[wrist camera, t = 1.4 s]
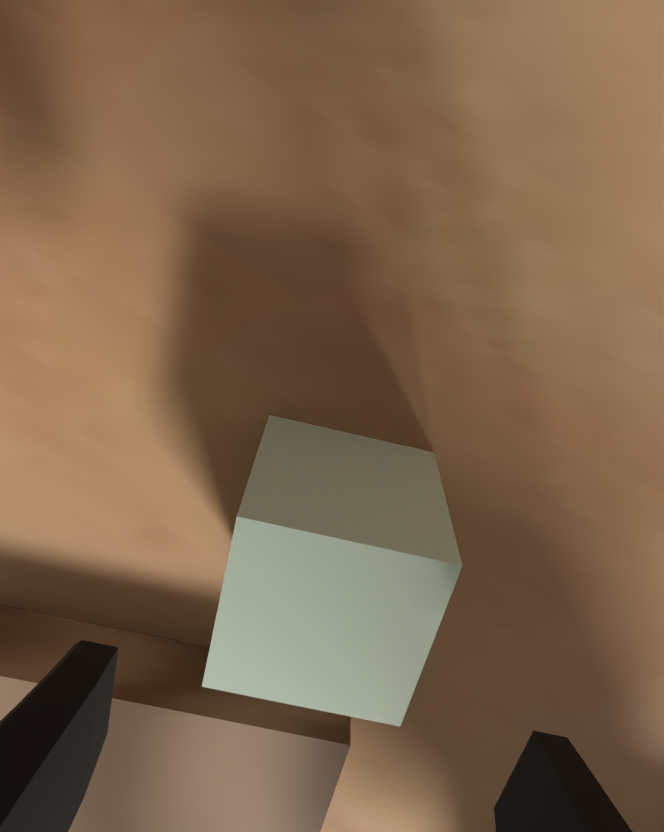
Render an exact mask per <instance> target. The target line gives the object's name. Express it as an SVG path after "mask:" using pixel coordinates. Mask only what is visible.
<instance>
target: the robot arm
mask: <svg viewBox="0 0 664 832" xmlns="http://www.w3.org/2000/svg"><path fill="white" fill-rule="evenodd" d="M117 655H118V647H115V646H110V645H105V644H100V643H95V642H90V641H85V640H81V641H79V642H77V643H75V644H74V645H73V646H72V647H71V648H70V650H69V651H68V652H67V653H66V654H65V655H64V656H63V658H62V659H61V660H60V661H59V662H58V663H57V664H56V665H55V666H54V667H53V668H52V670H51V671H50V672H49V673H48V674H47V675H46V676H45V677H44V678H43V679H42V680H41V681H40V682H39V683H38V684H37V685H36V686H35V687H34V688H33V689H32V690H31V691H30V692H29V693H28V694H27V695H26V696H25V697H24V698H23V699H22V700H21V701H20V702H19V703H18V704H17V705H16V706H15V707H14V708H13V709H12V710H11V711H10V712H9V713H8V714H7V715H6V716H5V717H4V718H3V719H2V720H1V721H0V832H68V831H69V829H70V827H71V824H72V822H73V820H74V818H75V816H76V814H77V812H78V810H79V807H80V805H81V803H82V801H83V799H84V796H85V794H86V791H87V788H88V785H89V783H90V780H91V777H92V775H93V772H94V769H95V767H96V764H97V761H98V758H99V755H100V753H101V750H102V747H103V744H104V742H105V739H106V736H107V733H108V725H109V717H110V709H111V702H112V694H113V686H114V678H115V671H116V663H117ZM494 812H495V823H496V832H632V831H631V829H630V828H629V826H628V825H627V824H626V822H625V821H624V819H623V818H622V816H621V815H620V813H619V812H618V811H617V809H616V808H615V806H614V805H613V803H612V802H611V800H610V799H609V797H608V796H607V795H606V793H605V792H604V790H603V789H602V787H601V786H600V784H599V783H598V781H597V780H596V778H595V777H594V775H593V774H592V773H591V771H590V770H589V768H588V767H587V765H586V764H585V762H584V761H583V759H582V758H581V757H580V755H579V754H578V752H577V751H576V749H575V748H574V747H573V745H572V744H571V742H570V741H569V740H568V738H566V737H561V736H556V735H551V734H546V733H541V732H537V731H533V733H532V735H531V737H530V739H529V741H528V743H527V745H526V747H525V748H524V750H523V752H522V754H521V756H520V758H519V760H518V762H517V764H516V766H515V768H514V770H513V772H512V774H511V776H510V778H509V780H508V782H507V784H506V786H505V788H504V790H503V792H502V794H501V796H500V798H499V800H498V802H497V804H496V805H495V807H494Z"/></svg>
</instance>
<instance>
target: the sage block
mask: <svg viewBox="0 0 664 832" xmlns="http://www.w3.org/2000/svg"><path fill="white" fill-rule="evenodd" d="M462 566H463V565H462V561H461V557H460V553H459V549H458V545H457V541H456V537H455V533H454V529H453V525H452V521H451V517H450V513H449V509H448V505H447V501H446V497H445V493H444V489H443V485H442V481H441V477H440V473H439V469H438V465H437V461H436V457H435V453H434V452H430V451H426V450H421V449H417V448H413V447H408V446H404V445H400V444H395V443H391V442H386V441H382V440H378V439H373V438H369V437H365V436H360V435H356V434H351V433H347V432H343V431H338V430H334V429H330V428H325V427H321V426H316V425H312V424H308V423H303V422H299V421H295V420H290V419H286V418H281V417H277V416H273V415H269V417H268V420H267V423H266V426H265V429H264V432H263V435H262V439H261V442H260V445H259V448H258V451H257V454H256V457H255V460H254V464H253V467H252V470H251V473H250V476H249V479H248V482H247V486H246V489H245V492H244V495H243V498H242V501H241V504H240V507H239V511H238V514H237V517H236V522H235V527H234V532H233V537H232V542H231V546H230V551H229V556H228V561H227V566H226V571H225V576H224V580H223V585H222V590H221V595H220V600H219V605H218V610H217V615H216V619H215V624H214V629H213V634H212V639H211V644H210V649H209V654H208V658H207V663H206V668H205V673H204V678H203V683H202V687H206V688H211V689H216V690H221V691H226V692H231V693H236V694H241V695H246V696H250V697H255V698H260V699H265V700H270V701H275V702H280V703H285V704H290V705H295V706H300V707H305V708H310V709H315V710H320V711H325V712H330V713H335V714H340V715H345V716H350V717H355V718H360V719H365V720H370V721H374V722H379V723H384V724H389V725H394V726H399V727H400V726H401V724H402V721H403V718H404V716H405V713H406V711H407V708H408V705H409V703H410V700H411V698H412V695H413V693H414V690H415V687H416V685H417V682H418V680H419V677H420V675H421V672H422V669H423V667H424V664H425V662H426V659H427V656H428V654H429V651H430V649H431V646H432V644H433V641H434V638H435V636H436V633H437V631H438V628H439V626H440V623H441V620H442V618H443V615H444V613H445V610H446V607H447V605H448V602H449V600H450V597H451V595H452V592H453V589H454V587H455V584H456V582H457V579H458V576H459V574H460V571H461V569H462Z"/></svg>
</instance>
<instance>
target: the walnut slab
mask: <svg viewBox="0 0 664 832" xmlns="http://www.w3.org/2000/svg"><path fill="white" fill-rule="evenodd" d="M81 640H85V641H90V642H95V643H100V644H105V645H110V646H115V647H118V655H117V663H116V671H115V678H114V686H113V694H112V702H111V709H110V717H109V725H108V733H107V736H106V739H105V742H104V744H103V747H102V750H101V753H100V755H99V758H98V761H97V764H96V767H95V769H94V772H93V775H92V777H91V780H90V783H89V785H88V788H87V791H86V794H85V796H84V799H83V801H82V803H81V805H80V807H79V810H78V812H77V814H76V816H75V818H74V820H73V822H72V824H71V827H70V829H69V831H68V832H320V831H321V828H322V825H323V822H324V819H325V816H326V813H327V810H328V808H329V805H330V802H331V799H332V796H333V793H334V790H335V787H336V785H337V782H338V779H339V776H340V773H341V770H342V767H343V765H344V762H345V759H346V756H347V753H348V750H349V747H350V716H345V715H340V714H335V713H330V712H325V711H320V710H315V709H310V708H305V707H300V706H295V705H290V704H285V703H280V702H275V701H270V700H265V699H260V698H255V697H250V696H246V695H241V694H236V693H231V692H226V691H221V690H216V689H211V688H206V687H202V683H203V678H204V673H205V668H206V663H207V658H208V654H209V649H210V648H209V647H204V646H199V645H195V644H190V643H185V642H180V641H175V640H170V639H165V638H160V637H156V636H151V635H146V634H141V633H136V632H131V631H126V630H121V629H116V628H112V627H107V626H102V625H97V624H92V623H87V622H82V621H77V620H73V619H68V618H63V617H58V616H53V615H48V614H43V613H38V612H34V611H29V610H24V609H19V608H14V607H9V606H4V605H0V721H1V720H2V719H3V718H4V717H5V716H6V715H7V714H8V713H9V712H10V711H11V710H12V709H13V708H14V707H15V706H16V705H17V704H18V703H19V702H20V701H21V700H22V699H23V698H24V697H25V696H26V695H27V694H28V693H29V692H30V691H31V690H32V689H33V688H34V687H35V686H36V685H37V684H38V683H39V682H40V681H41V680H42V679H43V678H44V677H45V676H46V675H47V674H48V673H49V672H50V671H51V670H52V668H53V667H54V666H55V665H56V664H57V663H58V662H59V661H60V660H61V659H62V658H63V656H64V655H65V654H66V653H67V652H68V651H69V650H70V648H71V647H72V646H73V645H74V644H75V643H77V642H79V641H81Z"/></svg>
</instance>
